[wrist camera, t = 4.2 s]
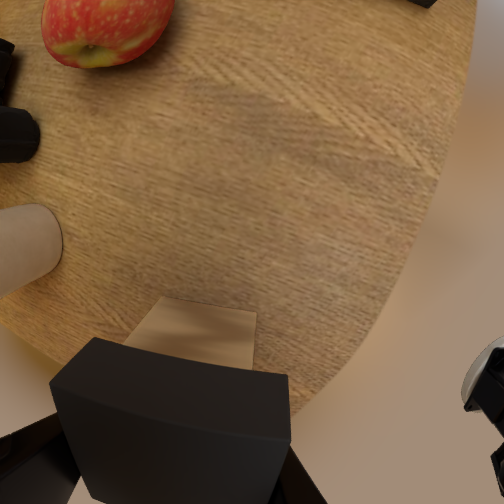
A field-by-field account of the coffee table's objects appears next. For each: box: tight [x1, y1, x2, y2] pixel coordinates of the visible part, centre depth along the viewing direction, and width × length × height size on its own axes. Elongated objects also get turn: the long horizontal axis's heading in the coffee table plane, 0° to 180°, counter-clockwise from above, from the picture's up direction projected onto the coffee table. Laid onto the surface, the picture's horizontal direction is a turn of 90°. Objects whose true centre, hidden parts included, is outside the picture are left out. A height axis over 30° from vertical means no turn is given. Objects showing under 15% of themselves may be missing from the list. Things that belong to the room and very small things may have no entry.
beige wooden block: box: [122, 296, 257, 370], centre depth 17 cm, size 6×6×8 cm
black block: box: [49, 337, 291, 504], centre depth 7 cm, size 6×6×2 cm
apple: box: [41, 0, 175, 68], centre depth 12 cm, size 8×8×8 cm
